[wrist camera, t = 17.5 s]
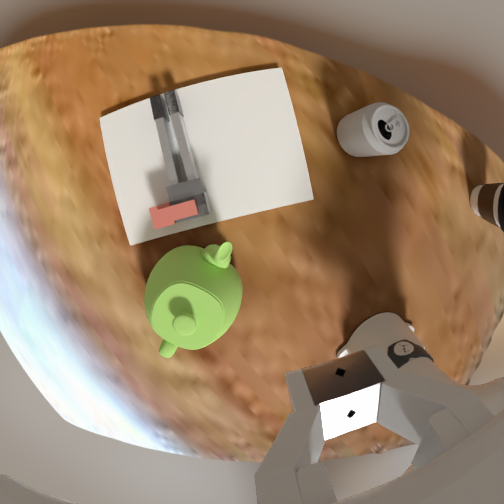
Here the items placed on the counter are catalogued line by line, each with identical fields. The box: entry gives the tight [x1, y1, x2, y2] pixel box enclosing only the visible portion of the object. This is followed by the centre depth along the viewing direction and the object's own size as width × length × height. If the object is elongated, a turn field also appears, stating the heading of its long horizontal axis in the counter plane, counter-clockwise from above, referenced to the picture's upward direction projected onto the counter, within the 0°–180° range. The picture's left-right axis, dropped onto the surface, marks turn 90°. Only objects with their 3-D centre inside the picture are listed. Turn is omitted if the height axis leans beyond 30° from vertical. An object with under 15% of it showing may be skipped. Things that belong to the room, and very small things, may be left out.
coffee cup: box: [470, 183, 504, 232], centre depth 40 cm, size 11×11×12 cm
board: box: [100, 67, 314, 246], centre depth 40 cm, size 22×30×2 cm
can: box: [337, 102, 410, 157], centre depth 35 cm, size 8×8×12 cm
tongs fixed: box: [150, 94, 212, 223], centre depth 36 cm, size 18×5×5 cm, turn 13°
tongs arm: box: [164, 90, 199, 181], centre depth 36 cm, size 14×2×4 cm, turn 15°
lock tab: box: [149, 199, 199, 229], centre depth 38 cm, size 3×6×6 cm, turn 103°
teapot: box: [144, 242, 242, 358], centre depth 40 cm, size 22×15×13 cm
